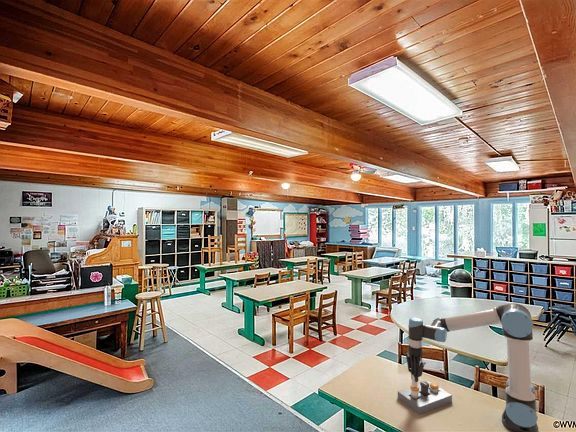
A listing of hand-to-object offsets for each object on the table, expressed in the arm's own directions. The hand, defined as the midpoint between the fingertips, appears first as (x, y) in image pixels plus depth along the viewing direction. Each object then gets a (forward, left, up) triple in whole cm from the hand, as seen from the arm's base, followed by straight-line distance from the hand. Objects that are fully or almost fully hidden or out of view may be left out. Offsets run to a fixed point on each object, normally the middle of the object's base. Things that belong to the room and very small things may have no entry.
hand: (414, 386), depth 175 cm
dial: (0, -8, -7) cm, 11 cm away
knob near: (0, 0, -7) cm, 7 cm away
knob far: (0, -16, -10) cm, 19 cm away
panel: (0, -8, -10) cm, 13 cm away
